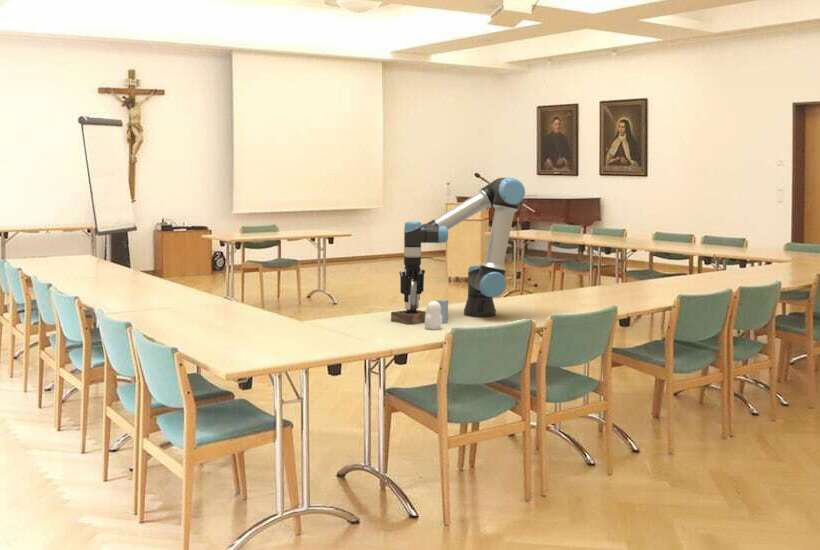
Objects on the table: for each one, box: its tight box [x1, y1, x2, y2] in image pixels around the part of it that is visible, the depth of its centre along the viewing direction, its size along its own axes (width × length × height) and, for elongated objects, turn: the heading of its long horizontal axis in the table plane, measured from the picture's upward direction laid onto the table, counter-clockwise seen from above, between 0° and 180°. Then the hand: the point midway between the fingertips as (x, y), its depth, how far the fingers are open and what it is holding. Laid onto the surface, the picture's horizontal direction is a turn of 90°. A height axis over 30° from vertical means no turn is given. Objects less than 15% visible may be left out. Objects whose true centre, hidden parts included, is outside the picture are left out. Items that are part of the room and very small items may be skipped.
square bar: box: [435, 299, 449, 325], centre depth 395 cm, size 4×4×10 cm
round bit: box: [406, 279, 418, 314], centre depth 397 cm, size 4×4×16 cm
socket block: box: [390, 309, 426, 326], centre depth 398 cm, size 13×13×4 cm
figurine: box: [424, 300, 442, 331], centre depth 380 cm, size 7×8×12 cm
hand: (411, 308), depth 398 cm, fingers closed on round bit, 4 cm apart
